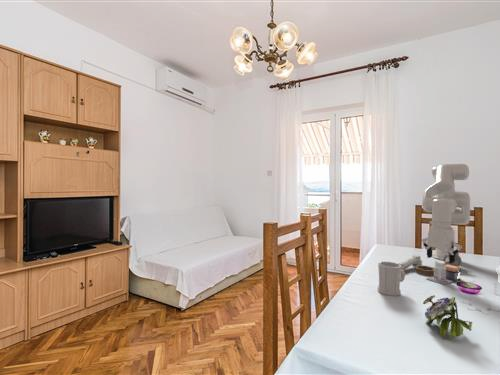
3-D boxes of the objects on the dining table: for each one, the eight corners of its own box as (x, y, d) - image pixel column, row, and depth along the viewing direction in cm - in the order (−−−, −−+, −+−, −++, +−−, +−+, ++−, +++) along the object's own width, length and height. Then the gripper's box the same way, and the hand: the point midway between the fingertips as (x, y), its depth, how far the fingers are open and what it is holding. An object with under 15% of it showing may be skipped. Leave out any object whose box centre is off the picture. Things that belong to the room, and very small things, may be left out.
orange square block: (447, 274, 139) (448, 264, 138) (459, 277, 134) (459, 267, 134) (442, 275, 136) (442, 265, 136) (453, 279, 132) (454, 268, 132)
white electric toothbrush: (392, 264, 145) (413, 251, 160) (392, 276, 146) (414, 262, 161) (402, 266, 141) (423, 253, 156) (403, 279, 142) (424, 264, 156)
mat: (435, 276, 138) (435, 275, 138) (453, 282, 131) (453, 280, 131) (426, 279, 134) (426, 278, 134) (444, 284, 127) (444, 283, 127)
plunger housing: (447, 275, 139) (447, 268, 139) (460, 279, 134) (461, 271, 134) (440, 277, 136) (441, 269, 136) (454, 281, 131) (454, 273, 131)
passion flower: (429, 343, 91) (422, 300, 98) (476, 347, 85) (464, 302, 92) (426, 335, 82) (418, 290, 90) (478, 340, 76) (465, 290, 84)
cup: (383, 285, 125) (383, 259, 125) (405, 291, 119) (406, 263, 118) (374, 291, 118) (374, 264, 118) (397, 298, 111) (397, 269, 111)
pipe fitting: (443, 263, 159) (445, 247, 157) (460, 267, 153) (463, 250, 152) (440, 271, 150) (442, 253, 148) (458, 275, 144) (460, 257, 143)
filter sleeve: (421, 269, 150) (421, 264, 150) (439, 273, 142) (439, 269, 142) (411, 271, 146) (411, 266, 146) (429, 276, 138) (429, 271, 138)
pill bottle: (445, 278, 133) (445, 261, 133) (446, 282, 129) (446, 264, 129) (433, 277, 136) (434, 260, 135) (434, 280, 132) (434, 262, 131)
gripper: (418, 222, 137) (417, 256, 138) (457, 228, 122) (456, 266, 123) (426, 221, 141) (426, 254, 142) (466, 226, 126) (465, 263, 127)
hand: (440, 259), depth 132 cm, fingers open, 9 cm apart
